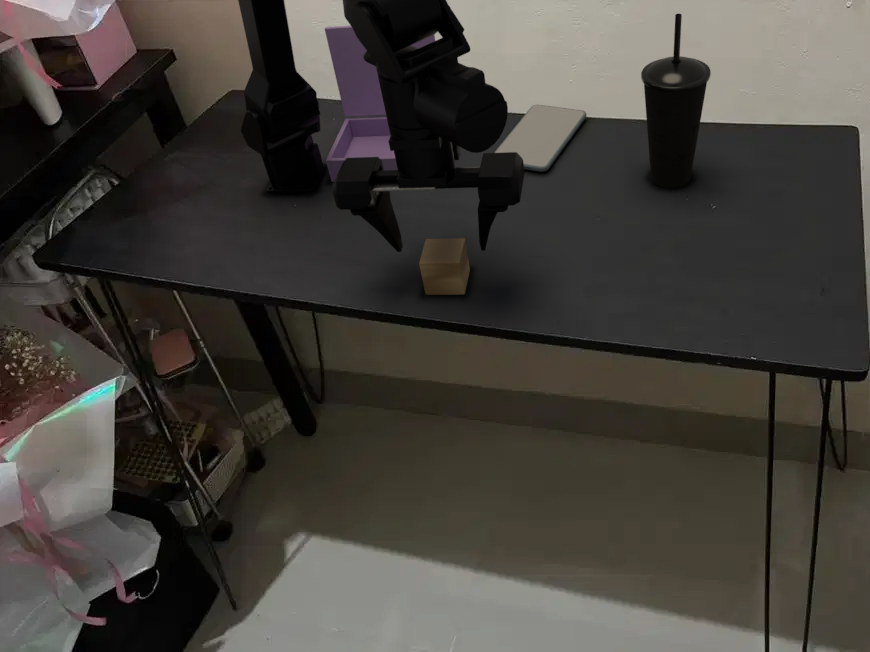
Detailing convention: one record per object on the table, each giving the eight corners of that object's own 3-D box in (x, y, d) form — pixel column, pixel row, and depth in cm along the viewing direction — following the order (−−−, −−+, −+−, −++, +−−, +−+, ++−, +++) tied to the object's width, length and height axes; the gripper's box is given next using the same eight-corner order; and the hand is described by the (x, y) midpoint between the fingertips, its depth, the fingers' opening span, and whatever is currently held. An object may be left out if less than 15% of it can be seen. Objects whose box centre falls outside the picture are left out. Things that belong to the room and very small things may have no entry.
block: (425, 295, 92) (418, 263, 89) (432, 270, 95) (425, 238, 92) (464, 294, 91) (459, 262, 88) (470, 269, 94) (465, 237, 91)
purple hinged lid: (431, 22, 106) (437, 10, 109) (324, 28, 108) (333, 16, 111) (444, 112, 114) (450, 98, 117) (344, 116, 116) (352, 102, 119)
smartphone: (487, 159, 109) (533, 103, 118) (488, 165, 110) (533, 109, 119) (546, 168, 106) (588, 110, 115) (546, 175, 107) (588, 116, 116)
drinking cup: (632, 190, 102) (633, 27, 88) (648, 158, 107) (652, -2, 93) (694, 198, 100) (706, 32, 85) (708, 164, 104) (721, 2, 90)
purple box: (436, 178, 109) (432, 156, 106) (331, 181, 111) (325, 160, 108) (449, 134, 116) (445, 113, 114) (351, 138, 118) (345, 117, 116)
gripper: (522, 71, 83) (534, 204, 94) (342, 80, 86) (373, 208, 97) (511, 127, 75) (525, 265, 86) (314, 135, 78) (351, 267, 89)
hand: (441, 248), depth 90 cm, fingers open, 9 cm apart
